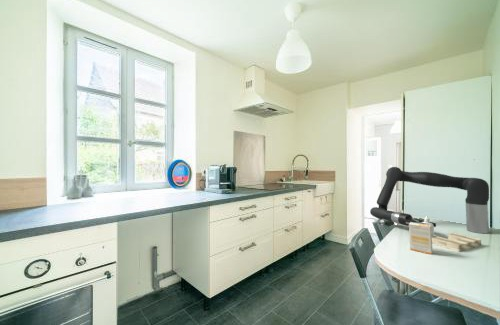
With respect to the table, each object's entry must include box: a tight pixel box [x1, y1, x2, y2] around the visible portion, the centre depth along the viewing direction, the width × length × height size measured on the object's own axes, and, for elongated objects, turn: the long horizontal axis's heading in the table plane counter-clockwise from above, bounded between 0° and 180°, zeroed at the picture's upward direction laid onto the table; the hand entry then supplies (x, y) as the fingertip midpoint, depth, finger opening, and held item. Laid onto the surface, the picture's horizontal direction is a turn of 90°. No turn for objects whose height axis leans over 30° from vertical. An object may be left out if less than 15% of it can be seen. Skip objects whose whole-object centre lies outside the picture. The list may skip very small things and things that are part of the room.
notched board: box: [432, 232, 482, 253], centre depth 106 cm, size 20×11×3 cm, turn 110°
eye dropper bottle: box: [422, 215, 435, 238], centre depth 118 cm, size 4×6×12 cm
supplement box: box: [408, 222, 433, 255], centre depth 99 cm, size 8×5×13 cm, turn 43°
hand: (432, 225), depth 116 cm, fingers closed on eye dropper bottle, 5 cm apart
